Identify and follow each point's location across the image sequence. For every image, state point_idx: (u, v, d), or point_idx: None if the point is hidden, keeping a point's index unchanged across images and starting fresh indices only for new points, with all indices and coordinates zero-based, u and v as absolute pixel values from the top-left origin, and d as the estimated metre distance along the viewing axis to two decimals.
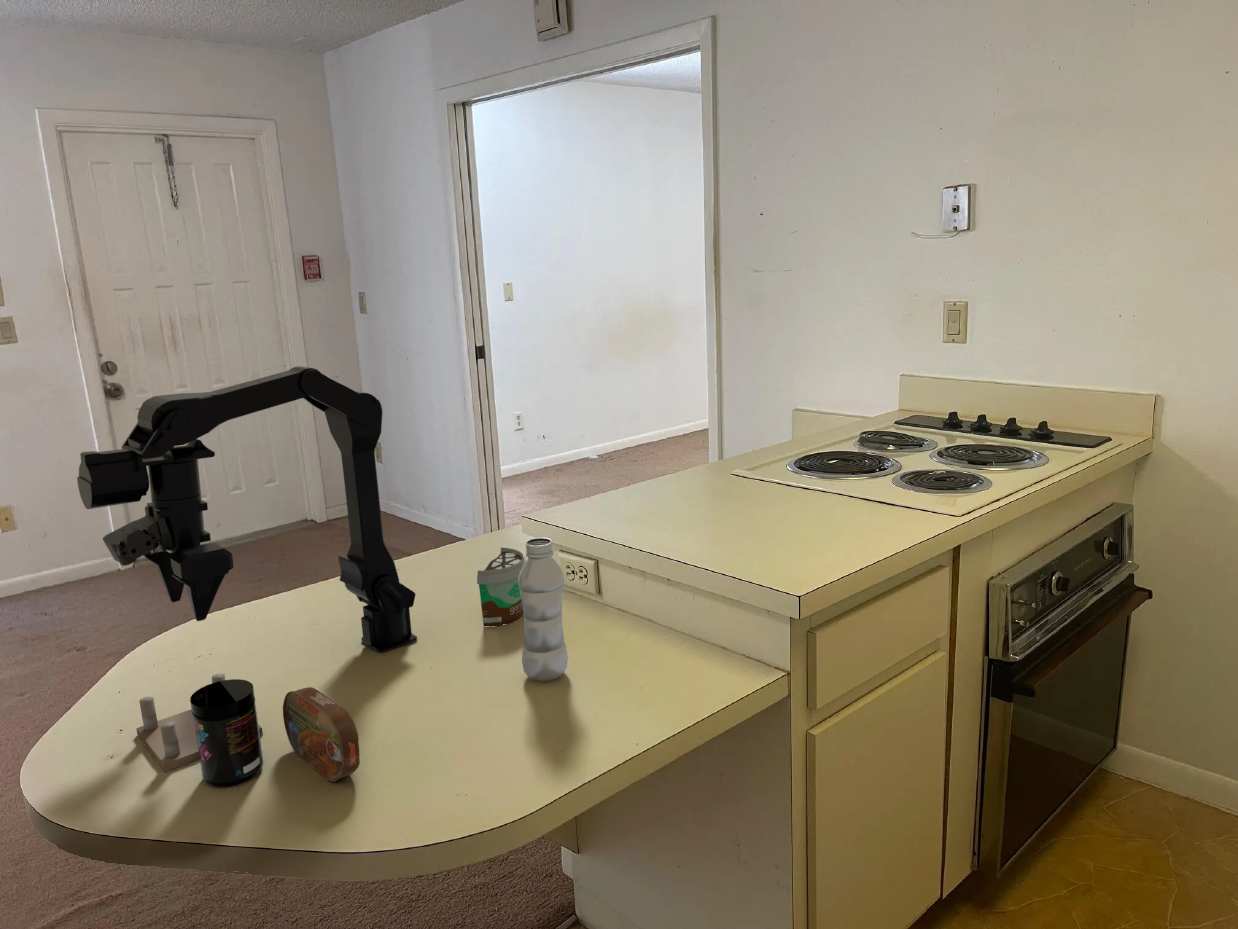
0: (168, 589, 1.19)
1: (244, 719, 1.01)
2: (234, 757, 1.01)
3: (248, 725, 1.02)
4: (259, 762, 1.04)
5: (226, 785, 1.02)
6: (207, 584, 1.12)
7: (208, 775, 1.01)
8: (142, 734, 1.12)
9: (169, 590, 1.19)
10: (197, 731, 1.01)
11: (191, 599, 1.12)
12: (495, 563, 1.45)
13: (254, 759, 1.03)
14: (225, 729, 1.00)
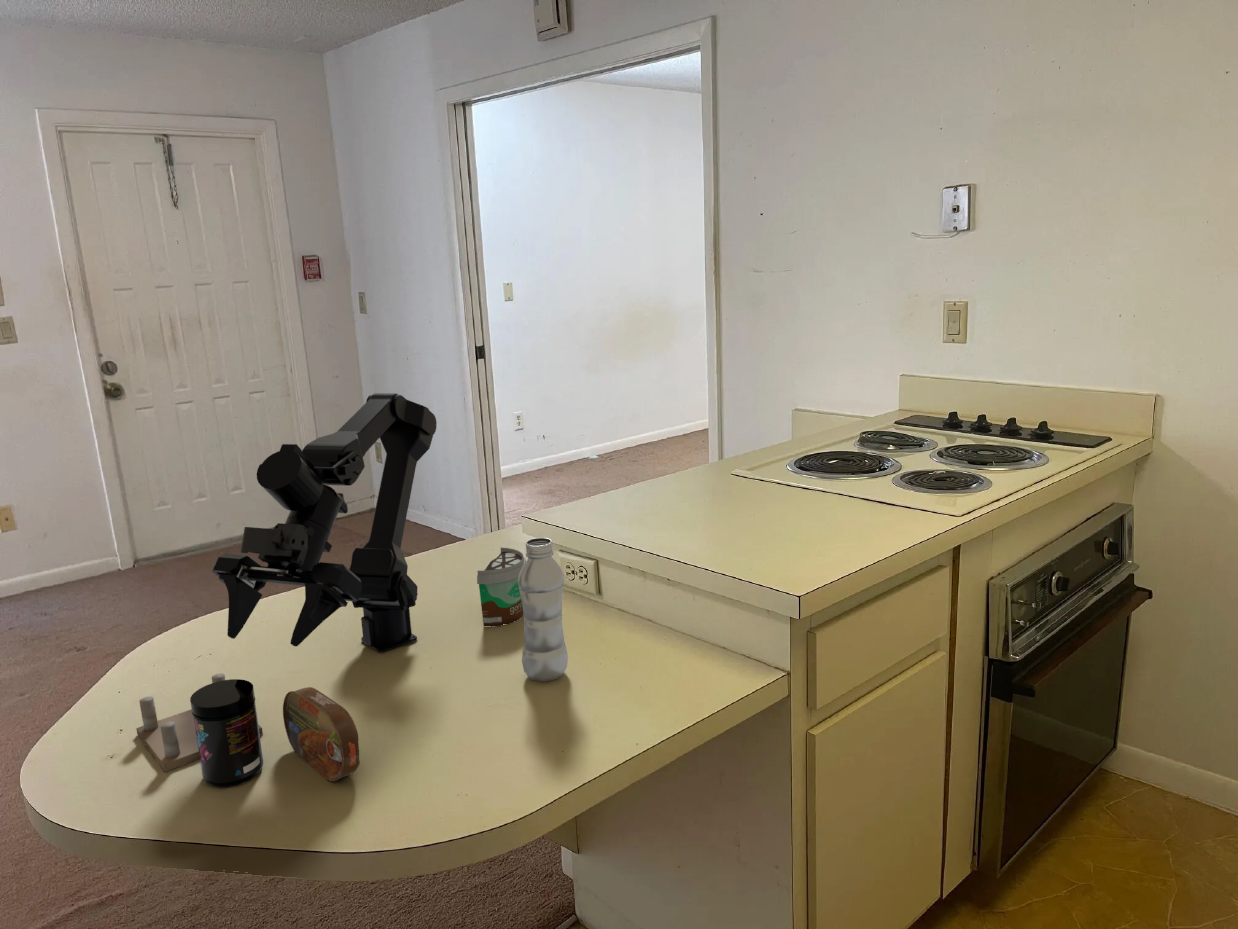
0: (233, 621, 1.10)
1: (244, 719, 1.01)
2: (234, 757, 1.01)
3: (248, 725, 1.02)
4: (259, 762, 1.04)
5: (226, 785, 1.02)
6: (320, 610, 1.10)
7: (208, 775, 1.01)
8: (142, 734, 1.12)
9: (233, 622, 1.10)
10: (197, 731, 1.01)
11: (304, 616, 1.08)
12: (495, 563, 1.45)
13: (254, 759, 1.03)
14: (225, 729, 1.00)
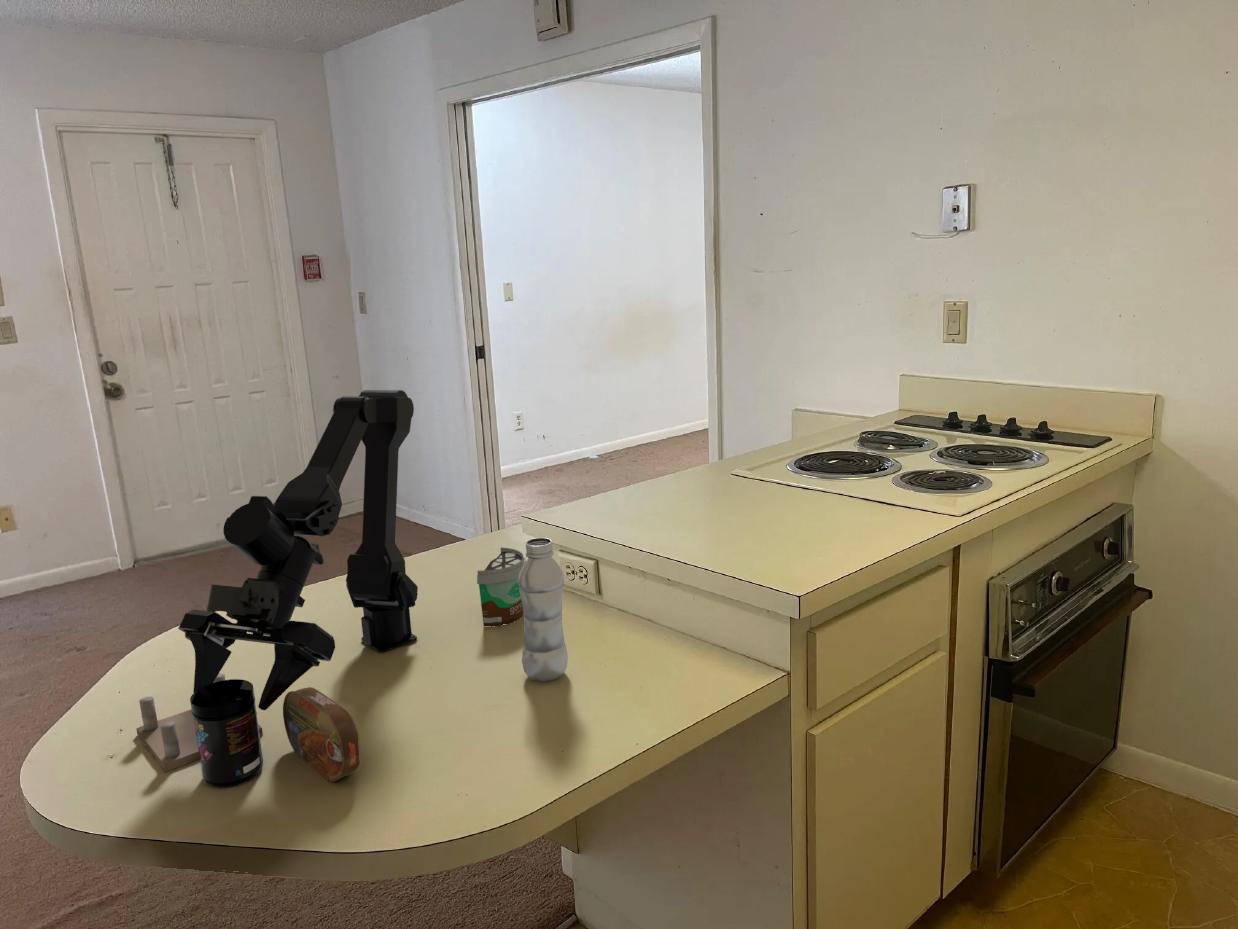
0: (199, 682, 1.05)
1: (244, 719, 1.01)
2: (234, 757, 1.01)
3: (248, 725, 1.02)
4: (259, 762, 1.04)
5: (226, 785, 1.02)
6: (290, 671, 1.05)
7: (208, 775, 1.01)
8: (142, 734, 1.12)
9: (199, 684, 1.05)
10: (197, 731, 1.01)
11: (273, 678, 1.02)
12: (495, 563, 1.45)
13: (254, 759, 1.03)
14: (225, 729, 1.00)
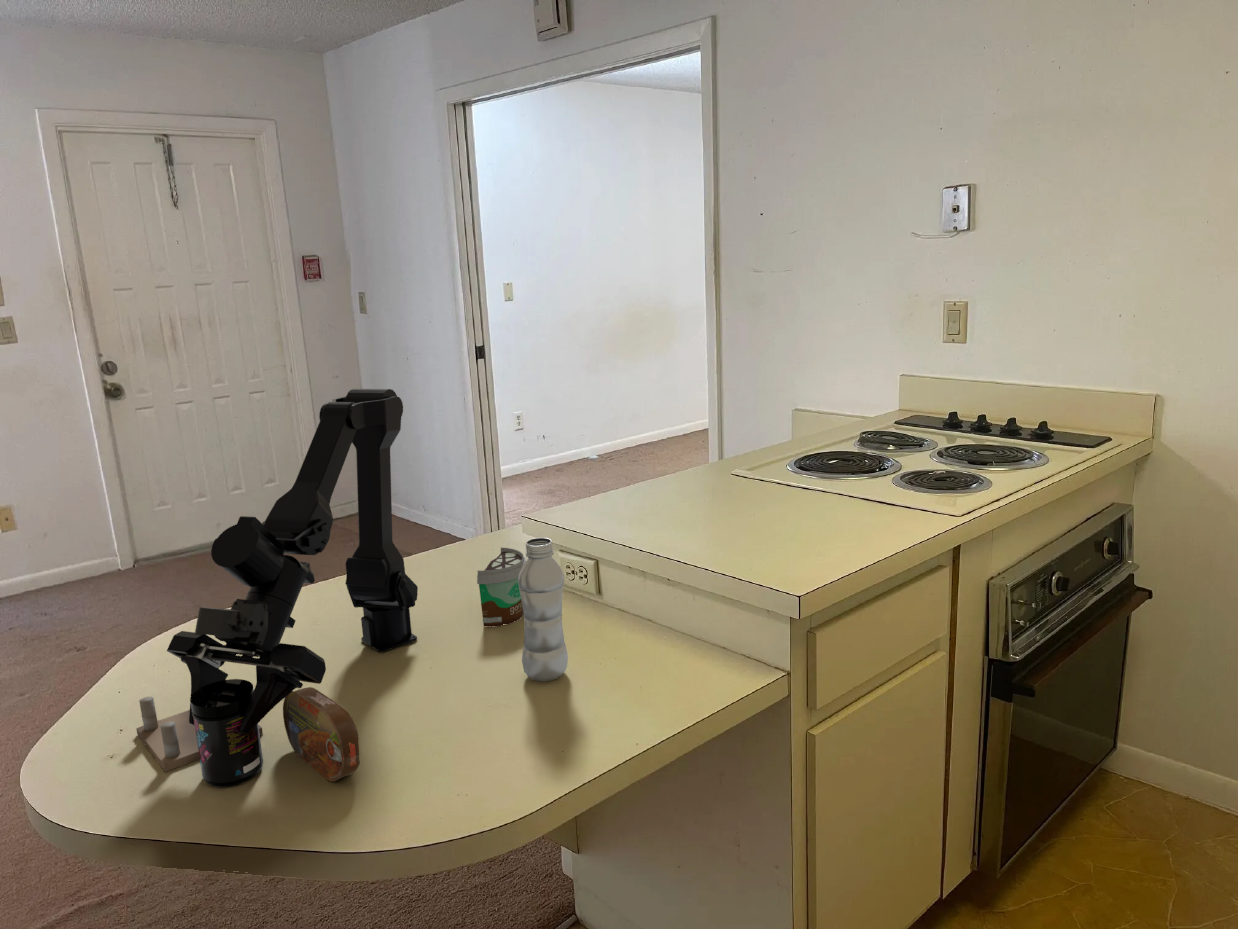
0: None
1: None
2: (234, 757, 1.01)
3: None
4: (259, 762, 1.04)
5: (226, 785, 1.02)
6: (272, 693, 1.03)
7: (208, 775, 1.01)
8: (142, 734, 1.12)
9: None
10: (197, 731, 1.01)
11: (254, 701, 1.01)
12: (495, 563, 1.45)
13: (254, 759, 1.03)
14: (225, 729, 1.00)
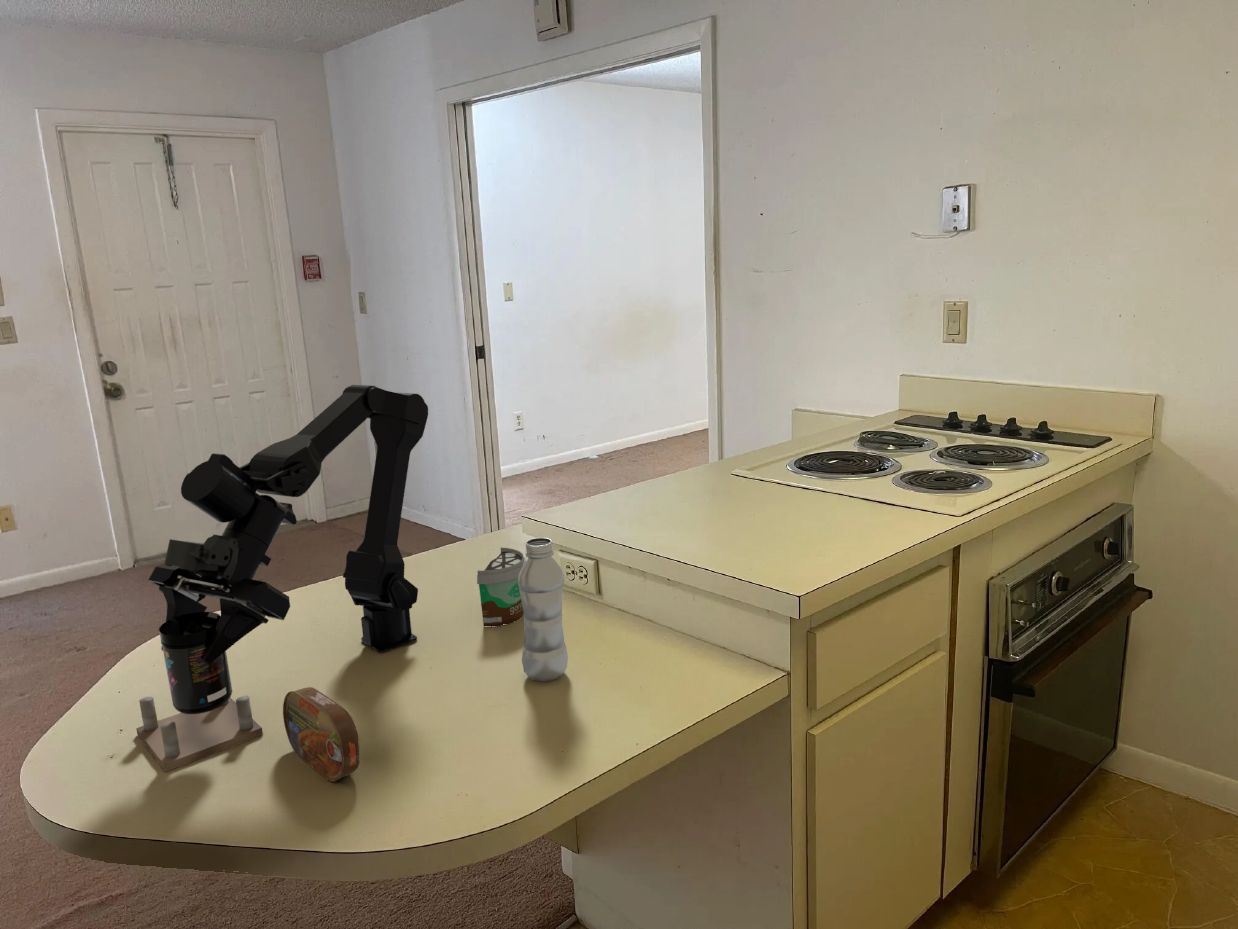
0: None
1: None
2: (198, 685, 1.04)
3: None
4: (225, 693, 1.07)
5: (191, 712, 1.05)
6: (237, 626, 1.06)
7: (175, 701, 1.05)
8: (142, 734, 1.12)
9: None
10: (165, 658, 1.05)
11: (217, 633, 1.04)
12: (495, 563, 1.45)
13: (219, 689, 1.06)
14: (188, 658, 1.03)
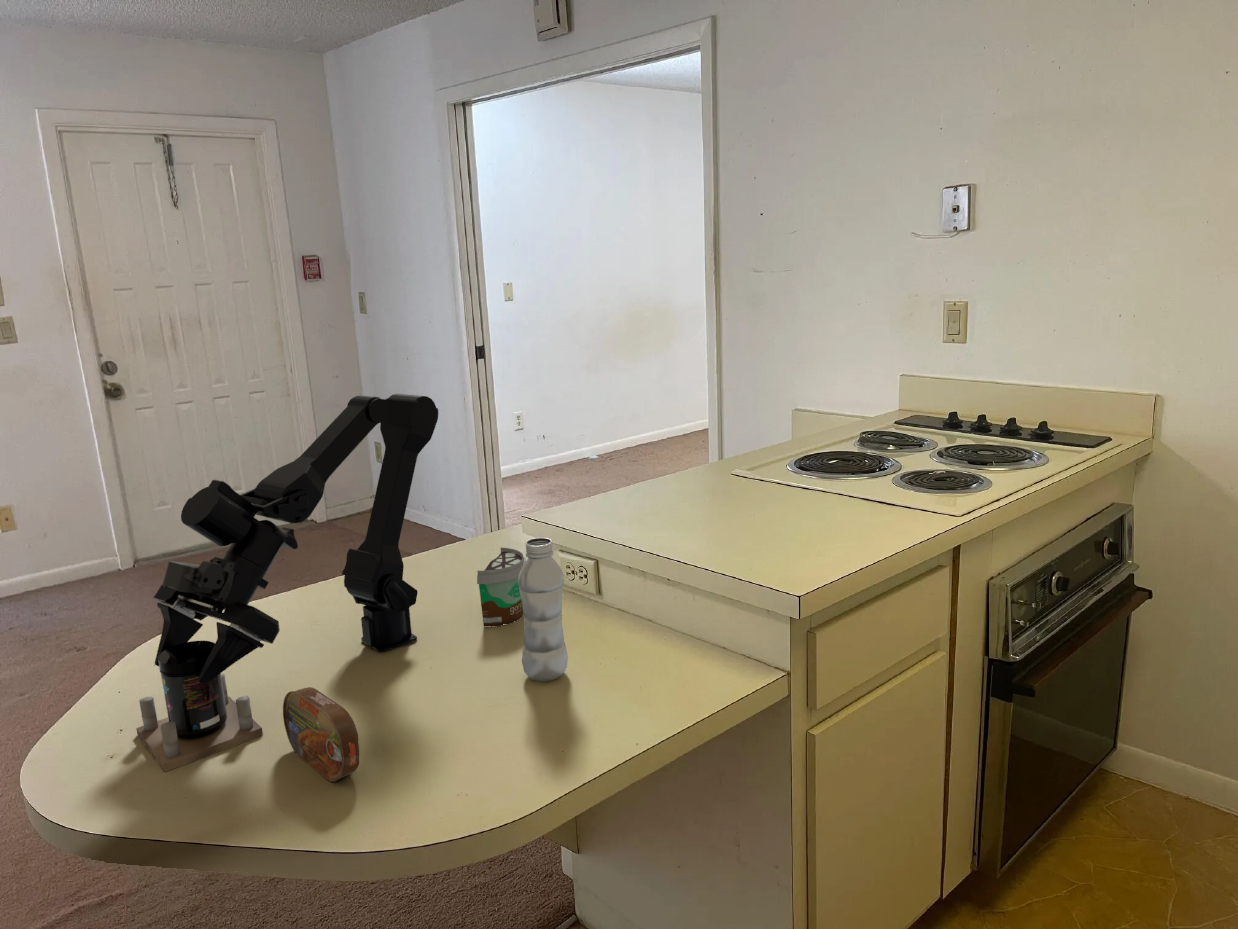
0: (162, 650, 1.13)
1: None
2: (191, 712, 1.09)
3: (205, 685, 1.10)
4: (218, 720, 1.12)
5: (185, 737, 1.10)
6: (234, 650, 1.10)
7: None
8: (142, 734, 1.12)
9: (161, 652, 1.13)
10: None
11: (213, 655, 1.08)
12: (495, 563, 1.45)
13: (212, 716, 1.11)
14: (182, 686, 1.08)
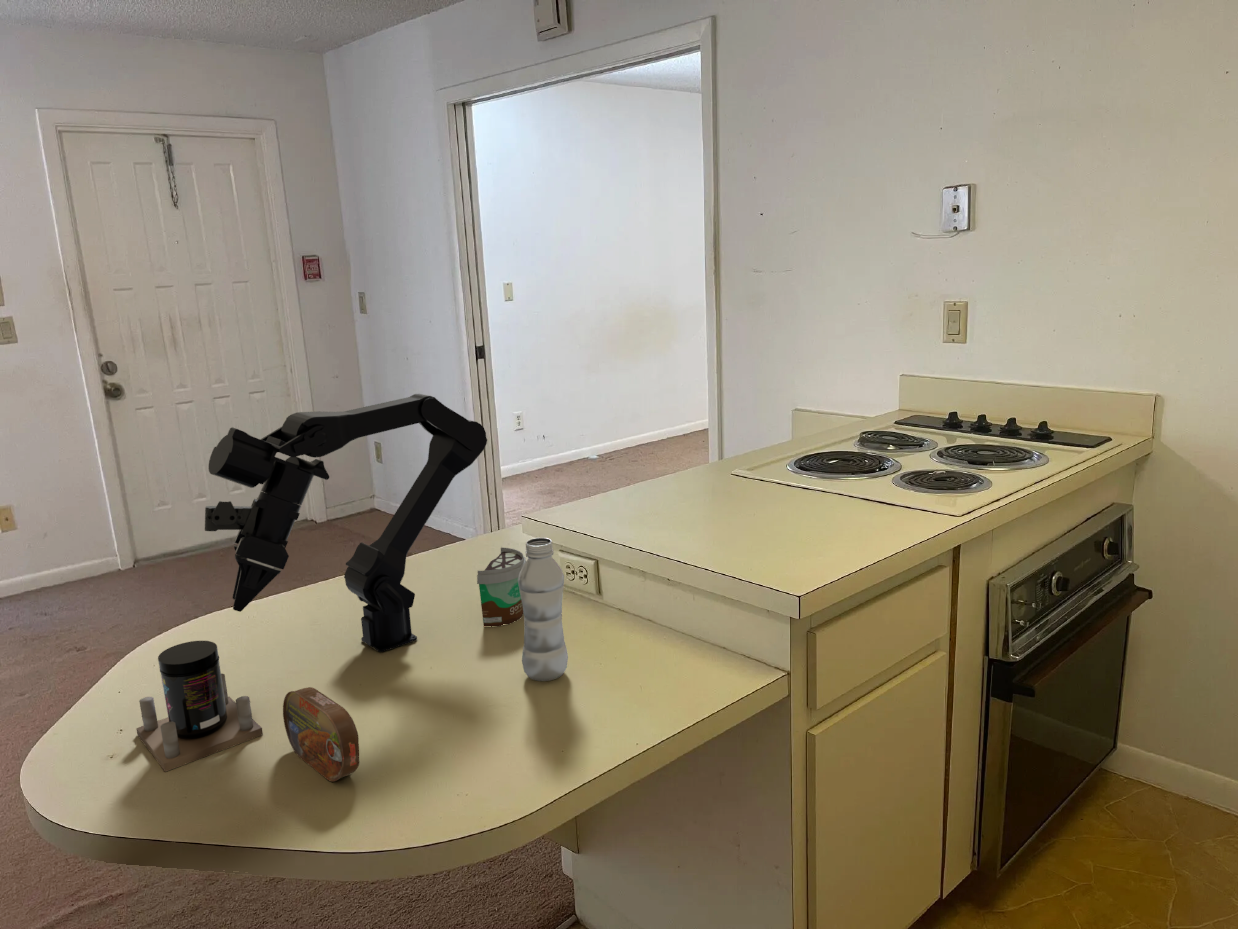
0: (236, 586, 1.26)
1: (202, 679, 1.09)
2: (191, 712, 1.09)
3: (205, 685, 1.10)
4: (218, 720, 1.12)
5: (185, 737, 1.10)
6: (257, 578, 1.18)
7: None
8: (142, 734, 1.12)
9: (236, 587, 1.26)
10: None
11: (238, 585, 1.17)
12: (495, 563, 1.45)
13: (212, 716, 1.11)
14: (182, 686, 1.08)
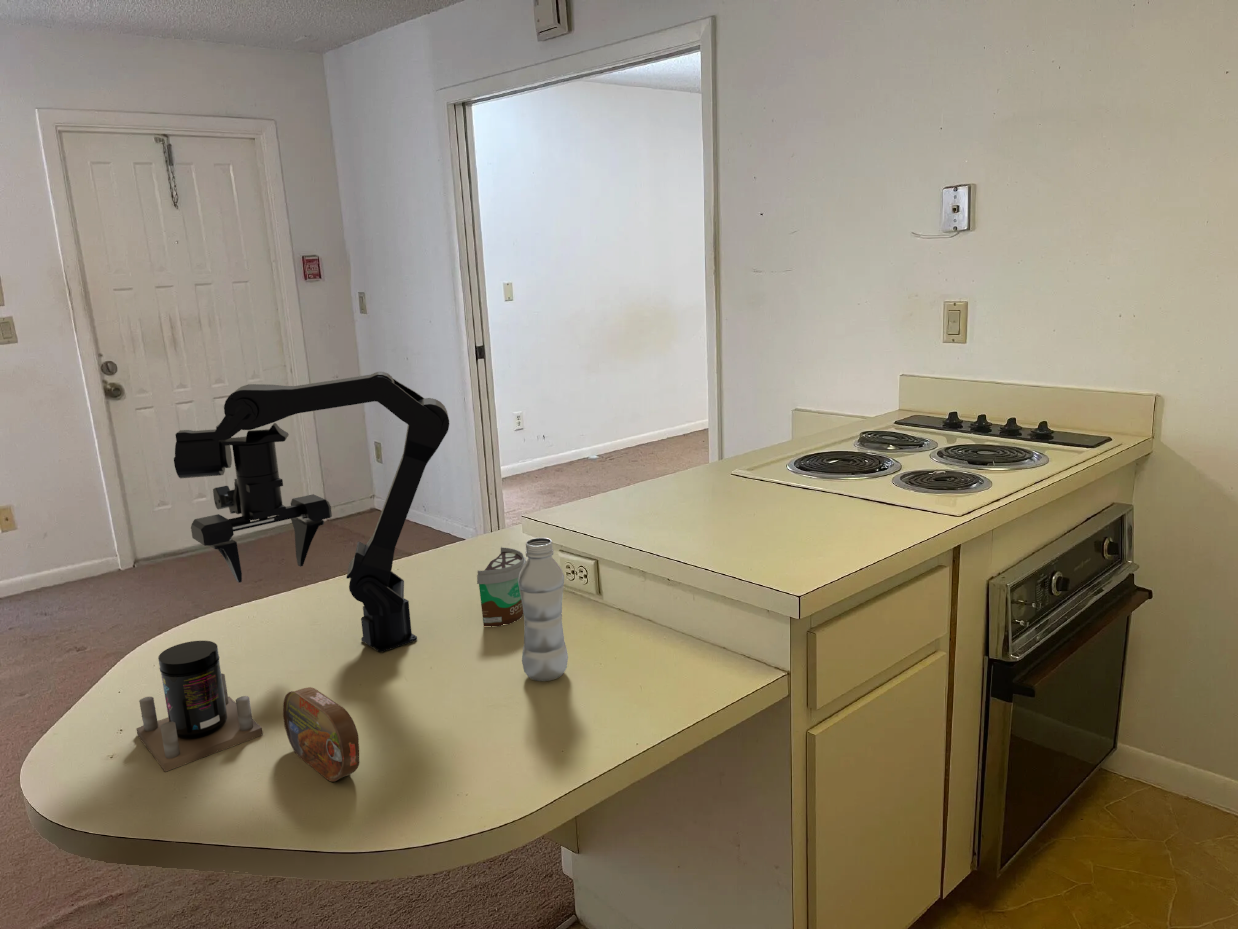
0: (297, 553, 1.36)
1: (202, 679, 1.09)
2: (191, 712, 1.09)
3: (206, 685, 1.10)
4: (218, 720, 1.12)
5: (185, 737, 1.10)
6: None
7: None
8: (142, 734, 1.12)
9: (297, 554, 1.36)
10: (163, 684, 1.10)
11: None
12: (495, 563, 1.45)
13: (212, 716, 1.11)
14: (182, 686, 1.08)
